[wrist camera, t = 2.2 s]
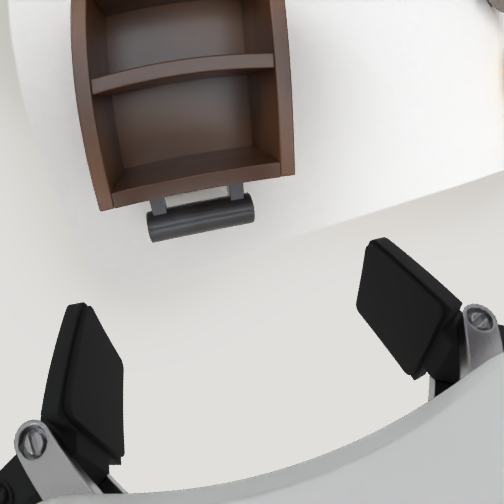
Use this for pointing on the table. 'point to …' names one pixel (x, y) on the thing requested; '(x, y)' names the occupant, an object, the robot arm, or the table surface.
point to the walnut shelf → (183, 104)
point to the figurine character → (497, 4)
